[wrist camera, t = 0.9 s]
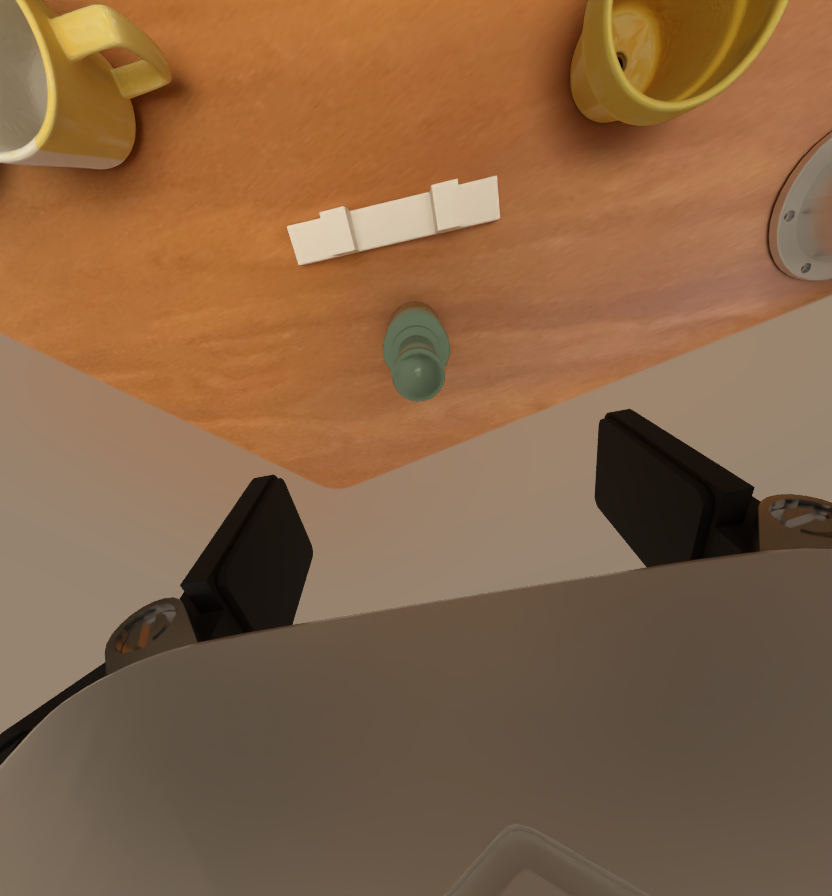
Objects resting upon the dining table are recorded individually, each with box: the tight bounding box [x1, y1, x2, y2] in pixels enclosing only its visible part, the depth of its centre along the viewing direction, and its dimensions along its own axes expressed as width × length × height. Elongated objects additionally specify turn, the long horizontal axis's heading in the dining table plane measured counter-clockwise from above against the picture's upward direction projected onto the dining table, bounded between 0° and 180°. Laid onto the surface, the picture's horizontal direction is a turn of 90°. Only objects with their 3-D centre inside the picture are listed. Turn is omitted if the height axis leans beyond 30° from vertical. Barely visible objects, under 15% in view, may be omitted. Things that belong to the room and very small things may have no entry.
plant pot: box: [570, 0, 789, 126], centre depth 24 cm, size 10×10×10 cm
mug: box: [0, 0, 172, 169], centre depth 24 cm, size 14×10×10 cm
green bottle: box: [383, 302, 450, 401], centre depth 29 cm, size 5×5×17 cm
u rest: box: [287, 176, 500, 265], centre depth 30 cm, size 18×3×5 cm, turn 101°
